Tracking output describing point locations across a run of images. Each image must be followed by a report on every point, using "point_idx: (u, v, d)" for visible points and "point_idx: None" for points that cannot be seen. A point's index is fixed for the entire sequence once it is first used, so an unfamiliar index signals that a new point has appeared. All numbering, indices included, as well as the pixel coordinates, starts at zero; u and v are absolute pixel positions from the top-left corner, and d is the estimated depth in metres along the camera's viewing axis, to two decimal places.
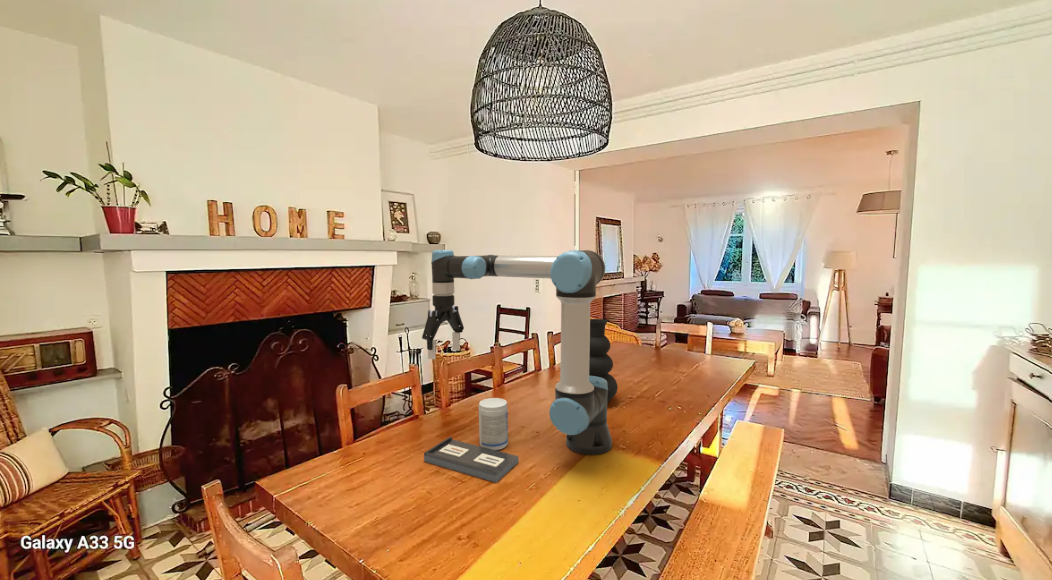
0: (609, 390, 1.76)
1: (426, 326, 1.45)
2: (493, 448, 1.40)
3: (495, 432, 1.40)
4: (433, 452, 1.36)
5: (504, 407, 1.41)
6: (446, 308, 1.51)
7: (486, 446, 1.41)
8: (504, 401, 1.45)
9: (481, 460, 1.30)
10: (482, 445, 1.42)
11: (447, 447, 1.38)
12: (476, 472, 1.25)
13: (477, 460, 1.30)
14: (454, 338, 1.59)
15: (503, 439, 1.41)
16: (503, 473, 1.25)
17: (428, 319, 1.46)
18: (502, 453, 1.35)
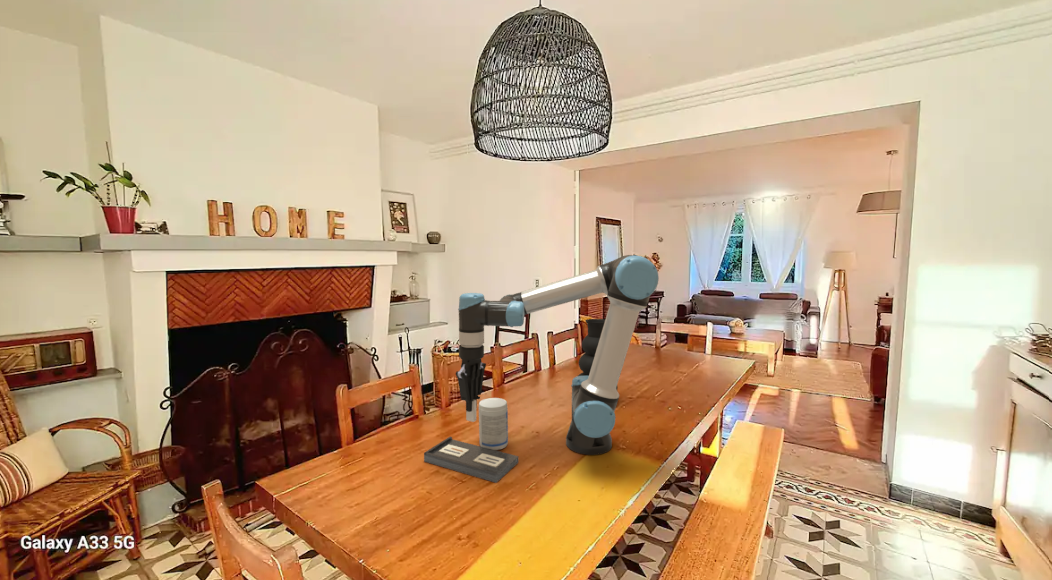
0: None
1: (460, 388, 1.29)
2: (493, 448, 1.40)
3: (495, 432, 1.40)
4: (433, 452, 1.36)
5: (504, 407, 1.41)
6: (474, 360, 1.31)
7: (486, 446, 1.41)
8: (504, 401, 1.45)
9: (481, 460, 1.30)
10: (482, 445, 1.42)
11: (447, 447, 1.38)
12: (476, 472, 1.25)
13: (477, 460, 1.30)
14: None
15: (503, 439, 1.41)
16: (503, 473, 1.25)
17: (459, 381, 1.28)
18: (502, 453, 1.35)
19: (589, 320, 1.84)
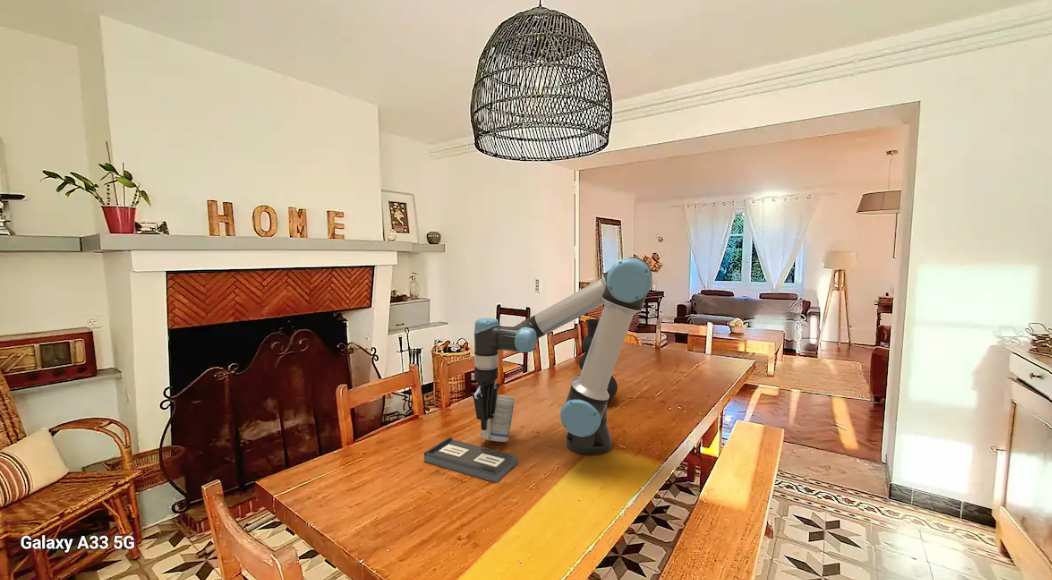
0: (609, 390, 1.76)
1: (476, 408, 1.36)
2: (494, 437, 1.41)
3: (499, 421, 1.42)
4: (433, 452, 1.36)
5: (511, 399, 1.46)
6: (489, 382, 1.39)
7: None
8: None
9: (481, 460, 1.30)
10: None
11: (447, 447, 1.38)
12: (476, 472, 1.25)
13: (477, 460, 1.30)
14: None
15: (505, 431, 1.43)
16: (503, 473, 1.25)
17: (475, 401, 1.35)
18: (502, 453, 1.35)
19: (589, 320, 1.84)
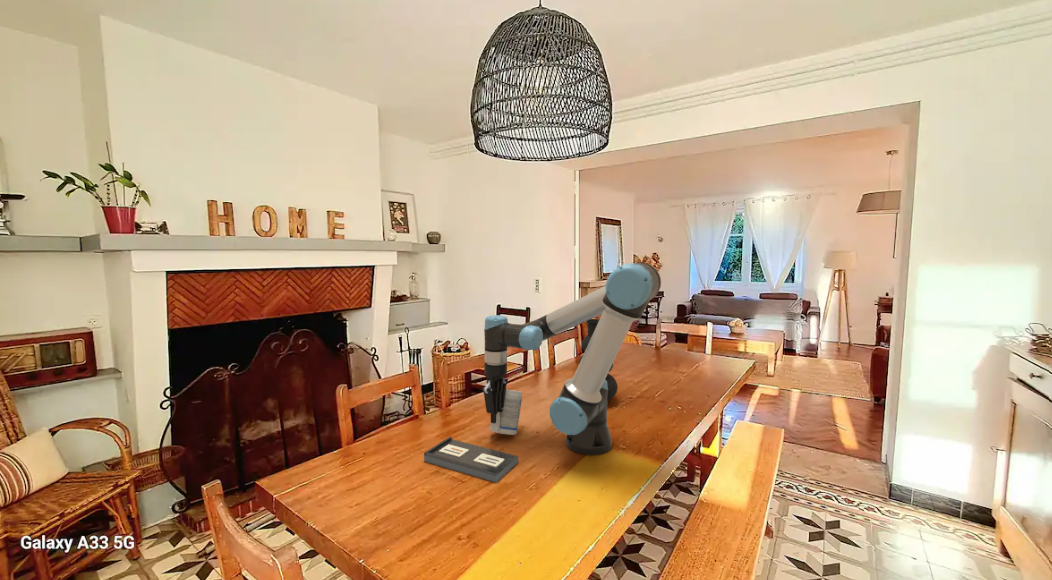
0: (609, 390, 1.76)
1: (486, 402, 1.42)
2: (503, 431, 1.46)
3: (508, 415, 1.48)
4: (433, 452, 1.36)
5: (520, 394, 1.51)
6: (498, 377, 1.44)
7: None
8: None
9: (481, 460, 1.30)
10: None
11: (447, 447, 1.38)
12: (476, 472, 1.25)
13: (477, 460, 1.30)
14: None
15: (513, 425, 1.48)
16: (503, 473, 1.25)
17: (485, 396, 1.41)
18: (502, 453, 1.35)
19: (589, 320, 1.84)
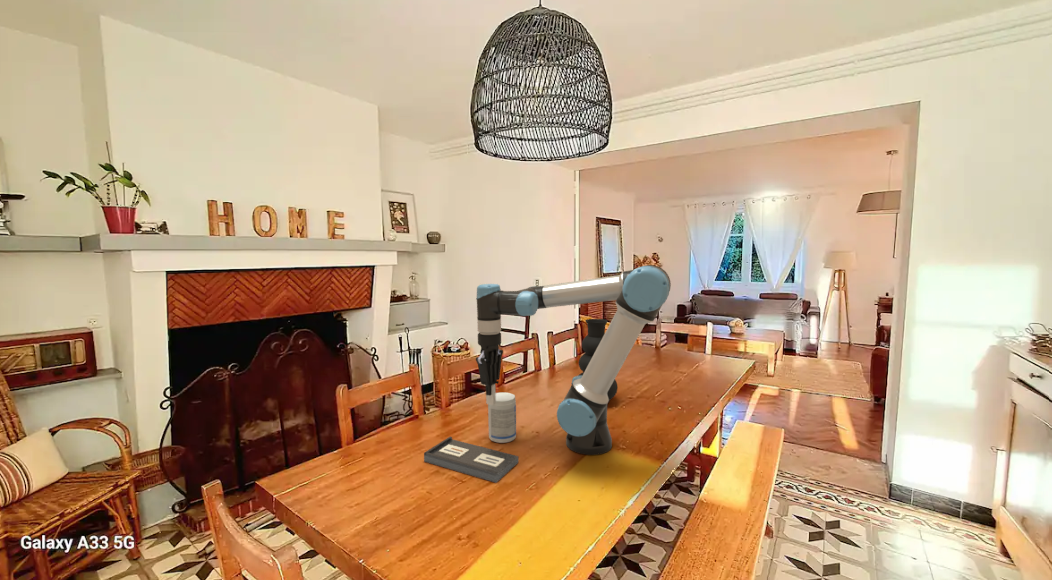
0: (609, 390, 1.76)
1: (480, 373, 1.37)
2: (502, 440, 1.46)
3: (504, 425, 1.45)
4: (433, 452, 1.36)
5: (513, 401, 1.47)
6: (492, 347, 1.40)
7: (495, 439, 1.46)
8: (512, 395, 1.50)
9: (481, 460, 1.30)
10: (491, 438, 1.47)
11: (447, 447, 1.38)
12: (476, 472, 1.25)
13: (477, 460, 1.30)
14: None
15: (511, 432, 1.47)
16: (503, 473, 1.25)
17: (479, 366, 1.36)
18: (502, 453, 1.35)
19: (589, 320, 1.84)
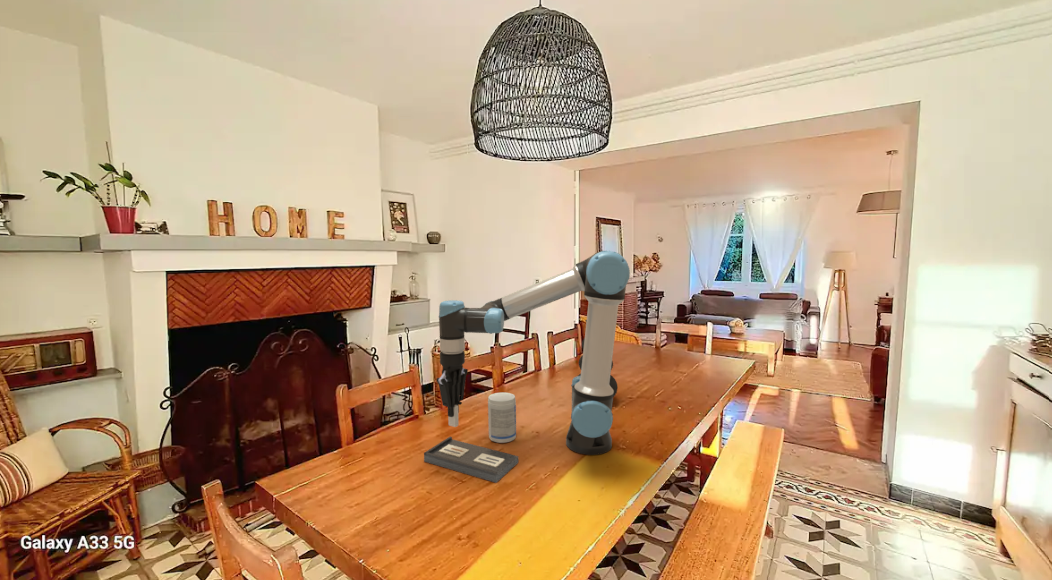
0: None
1: (441, 394, 1.31)
2: (502, 440, 1.46)
3: (504, 425, 1.45)
4: (433, 452, 1.36)
5: (512, 401, 1.47)
6: (455, 367, 1.33)
7: (495, 438, 1.46)
8: (512, 395, 1.50)
9: (481, 460, 1.30)
10: (491, 438, 1.47)
11: (447, 447, 1.38)
12: (476, 472, 1.25)
13: (477, 460, 1.30)
14: None
15: (511, 432, 1.47)
16: (503, 473, 1.25)
17: (440, 387, 1.30)
18: (502, 453, 1.35)
19: None
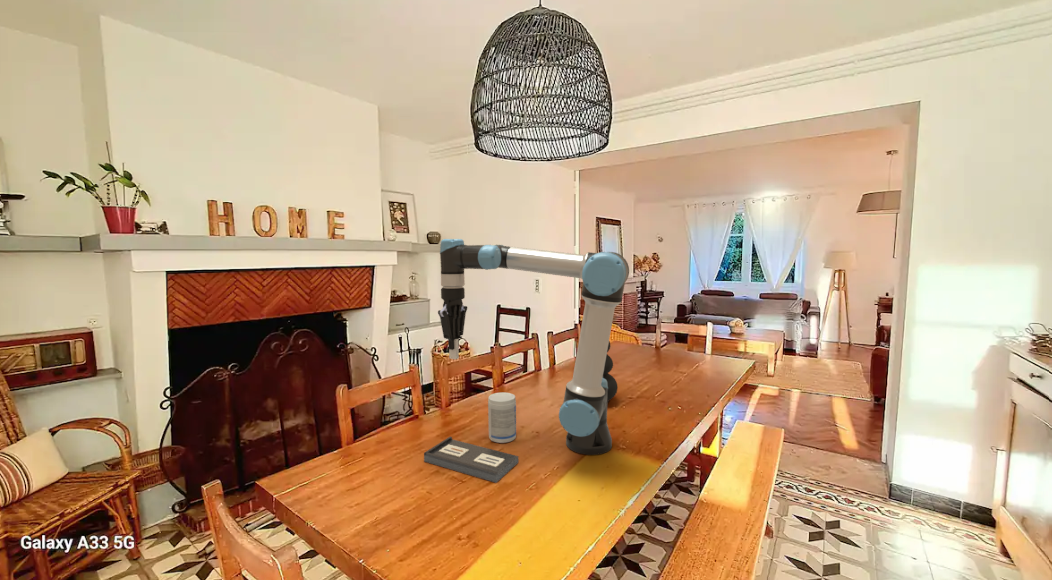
0: (609, 390, 1.76)
1: (442, 327, 1.38)
2: (502, 440, 1.46)
3: (504, 425, 1.45)
4: (433, 452, 1.36)
5: (513, 401, 1.47)
6: (456, 302, 1.41)
7: (495, 439, 1.46)
8: (512, 395, 1.50)
9: (481, 460, 1.30)
10: (491, 438, 1.47)
11: (447, 447, 1.38)
12: (476, 472, 1.25)
13: (477, 460, 1.30)
14: None
15: (511, 432, 1.47)
16: (503, 473, 1.25)
17: (441, 319, 1.37)
18: (502, 453, 1.35)
19: None
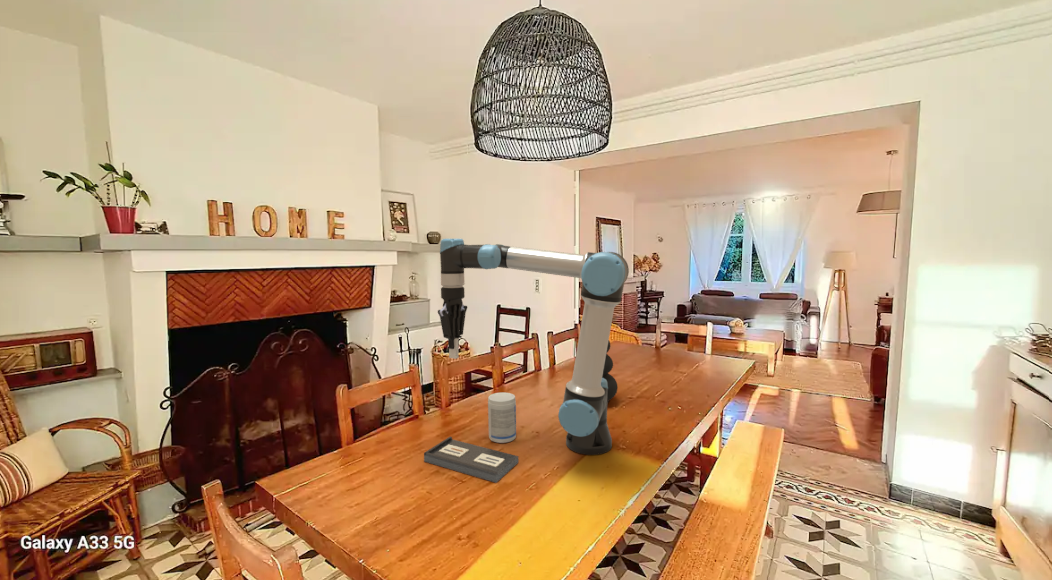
0: (609, 390, 1.76)
1: (442, 326, 1.39)
2: (502, 440, 1.46)
3: (504, 425, 1.45)
4: (433, 452, 1.36)
5: (513, 401, 1.47)
6: (456, 301, 1.41)
7: (495, 439, 1.46)
8: (512, 395, 1.50)
9: (481, 460, 1.30)
10: (491, 438, 1.47)
11: (447, 447, 1.38)
12: (476, 472, 1.25)
13: (477, 460, 1.30)
14: None
15: (511, 432, 1.47)
16: (503, 473, 1.25)
17: (441, 319, 1.38)
18: (502, 453, 1.35)
19: None
